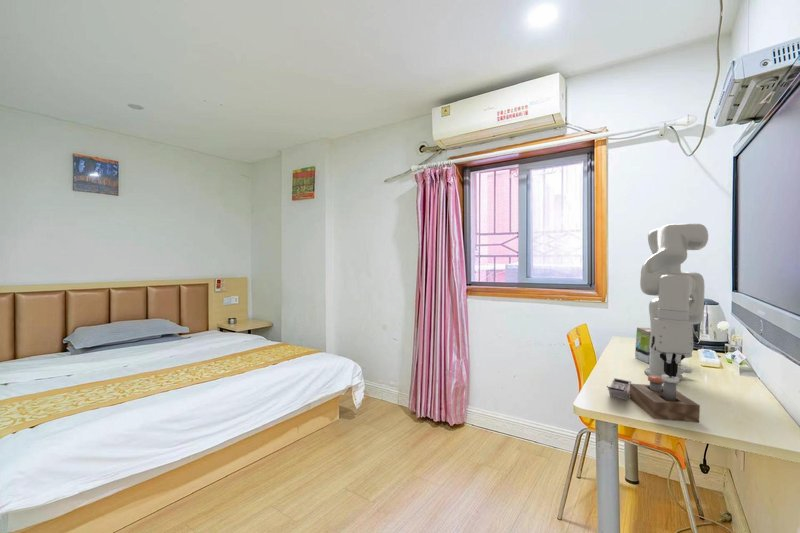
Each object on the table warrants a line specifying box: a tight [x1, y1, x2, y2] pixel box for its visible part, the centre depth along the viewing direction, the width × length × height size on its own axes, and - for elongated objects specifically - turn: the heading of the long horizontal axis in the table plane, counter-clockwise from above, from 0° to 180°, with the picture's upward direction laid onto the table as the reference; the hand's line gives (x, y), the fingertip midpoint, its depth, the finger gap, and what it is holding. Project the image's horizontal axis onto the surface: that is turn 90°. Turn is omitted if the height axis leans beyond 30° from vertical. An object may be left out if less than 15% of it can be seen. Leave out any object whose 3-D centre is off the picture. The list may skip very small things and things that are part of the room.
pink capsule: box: [647, 375, 664, 392], centre depth 120 cm, size 4×4×7 cm
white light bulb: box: [661, 374, 680, 401], centre depth 112 cm, size 4×4×7 cm
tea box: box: [634, 327, 682, 365], centre depth 171 cm, size 15×10×15 cm
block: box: [629, 383, 701, 423], centre depth 116 cm, size 12×16×5 cm
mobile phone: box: [606, 377, 632, 400], centre depth 129 cm, size 6×6×25 cm
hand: (670, 375), depth 112 cm, fingers closed
